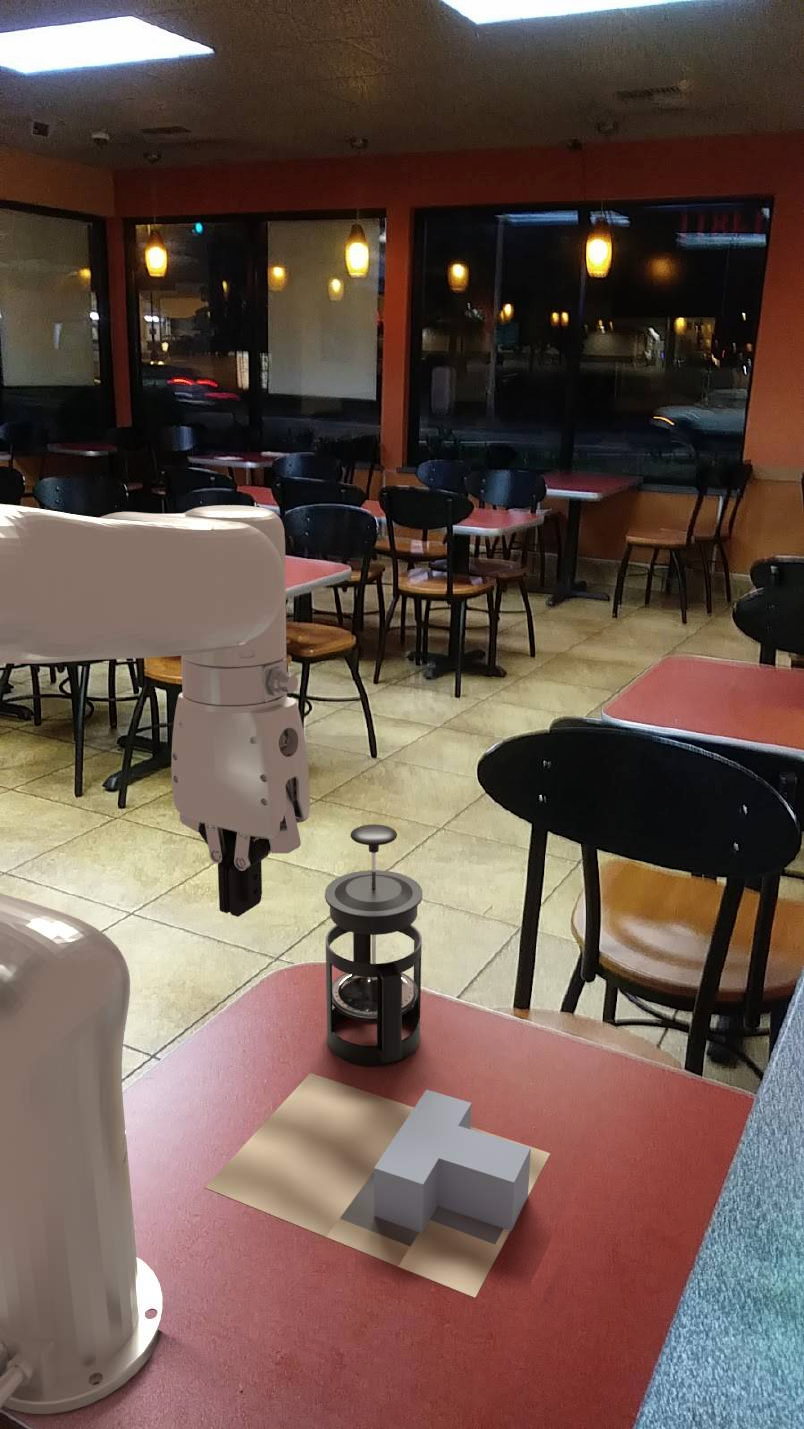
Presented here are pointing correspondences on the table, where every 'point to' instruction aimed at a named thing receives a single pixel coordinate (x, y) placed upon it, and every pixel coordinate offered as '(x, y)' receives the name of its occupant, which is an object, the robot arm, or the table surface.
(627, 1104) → the table surface
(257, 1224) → the table surface
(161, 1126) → the table surface
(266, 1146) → the board
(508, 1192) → the t block
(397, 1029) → the french press
